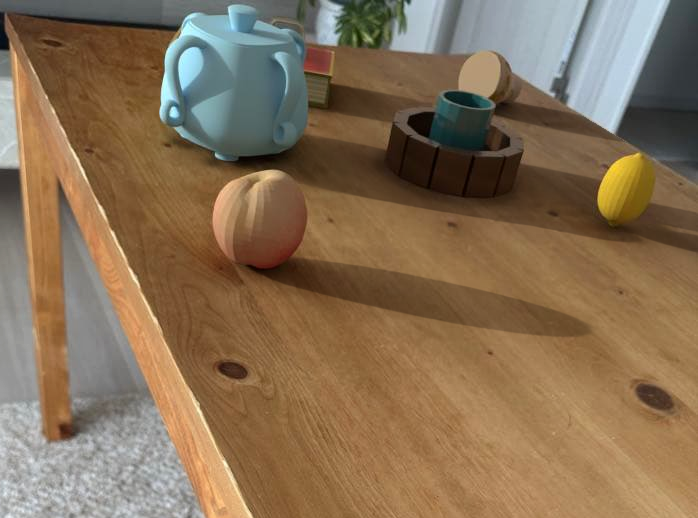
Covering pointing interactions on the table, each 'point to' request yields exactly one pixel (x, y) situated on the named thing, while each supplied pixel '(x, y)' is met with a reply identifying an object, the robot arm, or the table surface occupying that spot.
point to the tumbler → (462, 120)
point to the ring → (452, 157)
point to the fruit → (260, 218)
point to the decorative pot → (236, 84)
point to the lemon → (626, 189)
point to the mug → (490, 77)
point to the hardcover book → (311, 73)
